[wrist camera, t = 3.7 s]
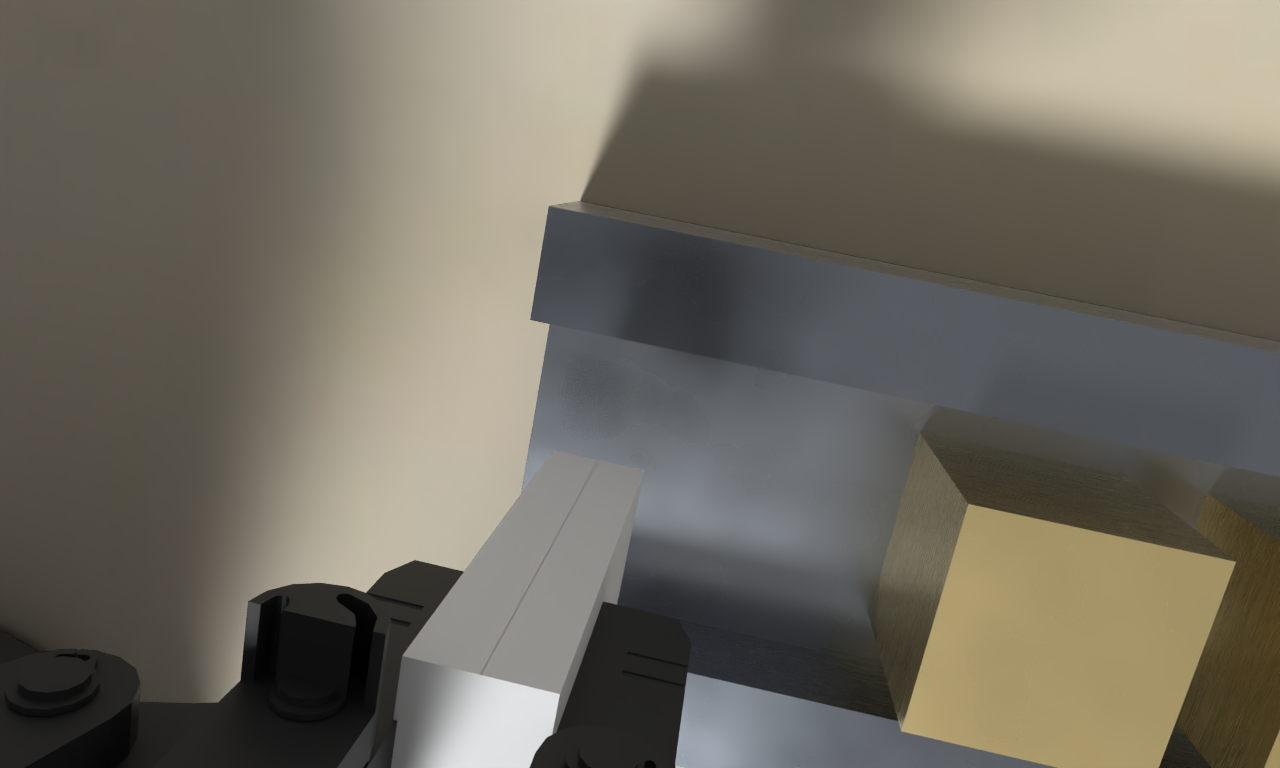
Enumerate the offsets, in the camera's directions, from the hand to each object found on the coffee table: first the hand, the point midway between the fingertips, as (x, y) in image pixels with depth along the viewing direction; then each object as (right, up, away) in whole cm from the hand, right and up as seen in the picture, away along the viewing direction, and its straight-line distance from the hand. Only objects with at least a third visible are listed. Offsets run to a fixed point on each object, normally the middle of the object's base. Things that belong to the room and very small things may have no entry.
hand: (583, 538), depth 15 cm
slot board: (+8, 0, +4) cm, 9 cm away
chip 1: (+8, -1, +3) cm, 9 cm away
